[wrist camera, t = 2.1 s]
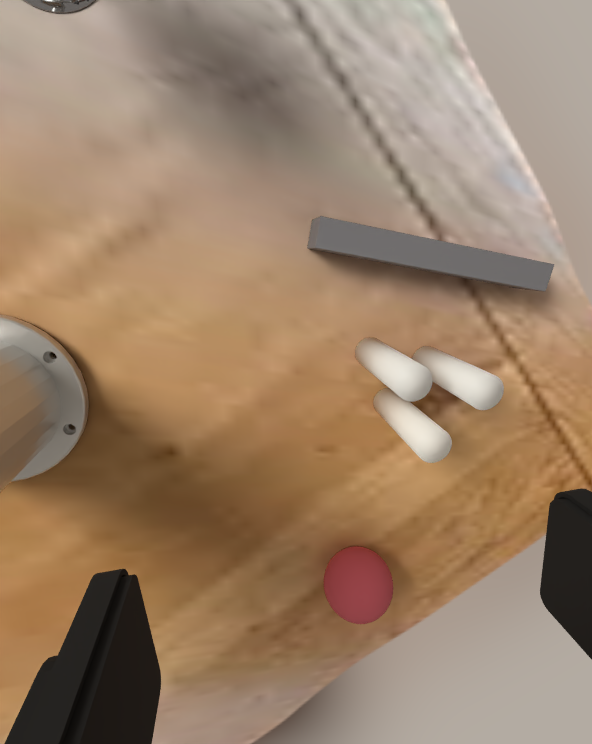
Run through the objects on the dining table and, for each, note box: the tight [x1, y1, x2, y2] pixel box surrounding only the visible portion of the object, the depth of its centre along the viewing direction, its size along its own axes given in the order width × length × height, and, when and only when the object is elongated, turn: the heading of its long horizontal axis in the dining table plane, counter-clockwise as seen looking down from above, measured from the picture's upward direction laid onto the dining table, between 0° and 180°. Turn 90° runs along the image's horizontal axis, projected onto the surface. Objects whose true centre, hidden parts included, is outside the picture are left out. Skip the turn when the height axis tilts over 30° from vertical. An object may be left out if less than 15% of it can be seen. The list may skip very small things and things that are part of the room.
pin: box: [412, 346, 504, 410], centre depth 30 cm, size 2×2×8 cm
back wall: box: [307, 216, 554, 291], centre depth 30 cm, size 18×2×3 cm, turn 80°
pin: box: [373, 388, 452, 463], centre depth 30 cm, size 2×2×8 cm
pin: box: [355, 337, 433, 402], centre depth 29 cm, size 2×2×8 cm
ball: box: [324, 546, 393, 624], centre depth 35 cm, size 6×6×6 cm
